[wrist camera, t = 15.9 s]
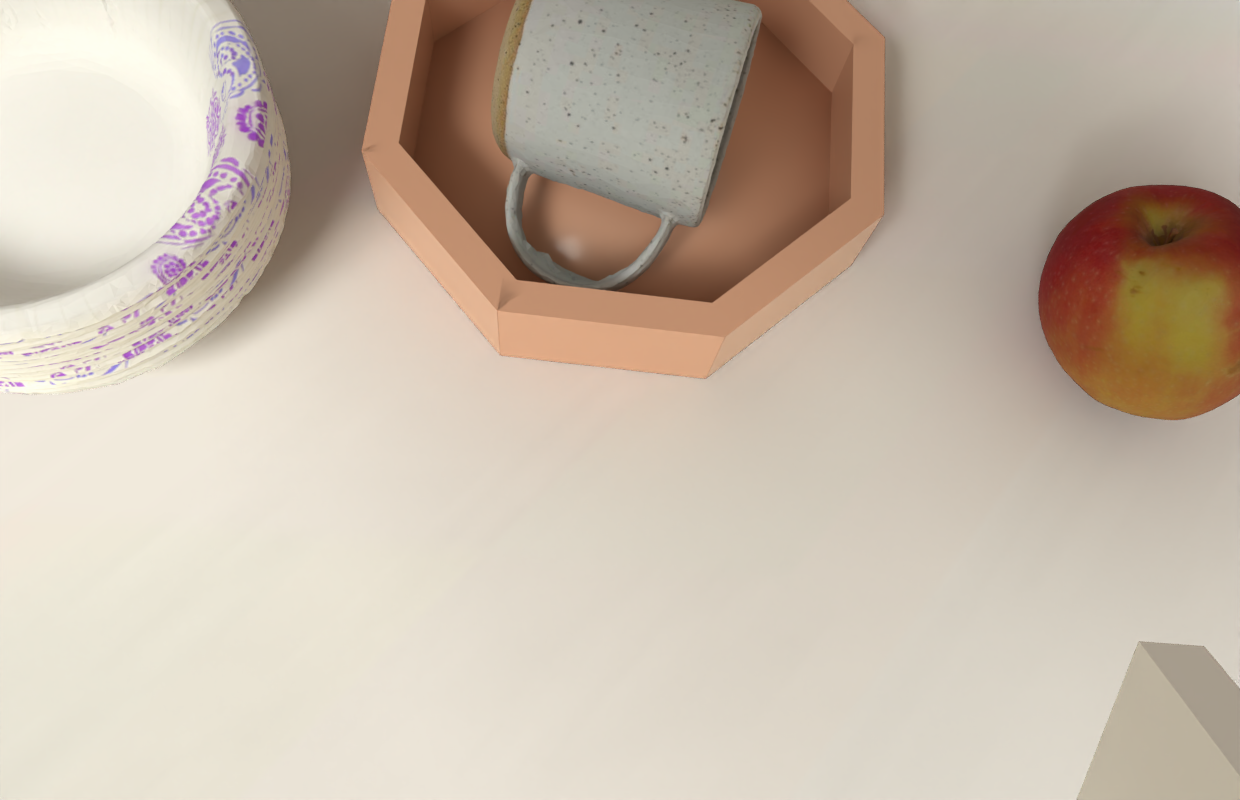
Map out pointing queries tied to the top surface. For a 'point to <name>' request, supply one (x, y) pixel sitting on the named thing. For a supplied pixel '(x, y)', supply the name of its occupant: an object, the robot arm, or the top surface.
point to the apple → (1148, 301)
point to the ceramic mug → (620, 109)
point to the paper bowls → (129, 184)
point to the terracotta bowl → (617, 234)
